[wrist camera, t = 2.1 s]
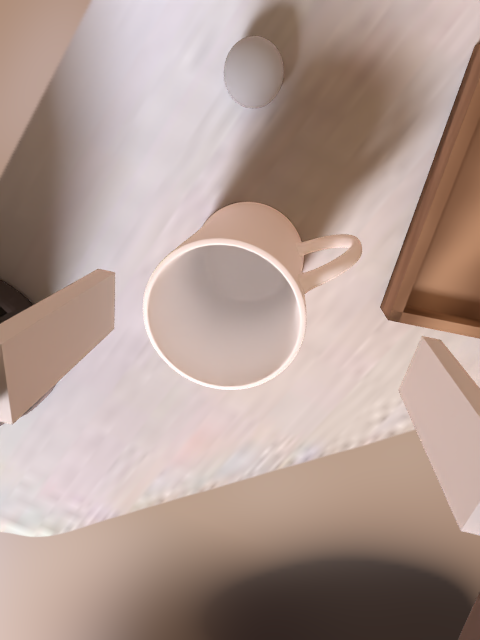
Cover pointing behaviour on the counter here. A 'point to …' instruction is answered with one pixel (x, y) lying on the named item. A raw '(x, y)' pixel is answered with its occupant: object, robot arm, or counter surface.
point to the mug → (237, 296)
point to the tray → (445, 229)
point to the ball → (253, 72)
